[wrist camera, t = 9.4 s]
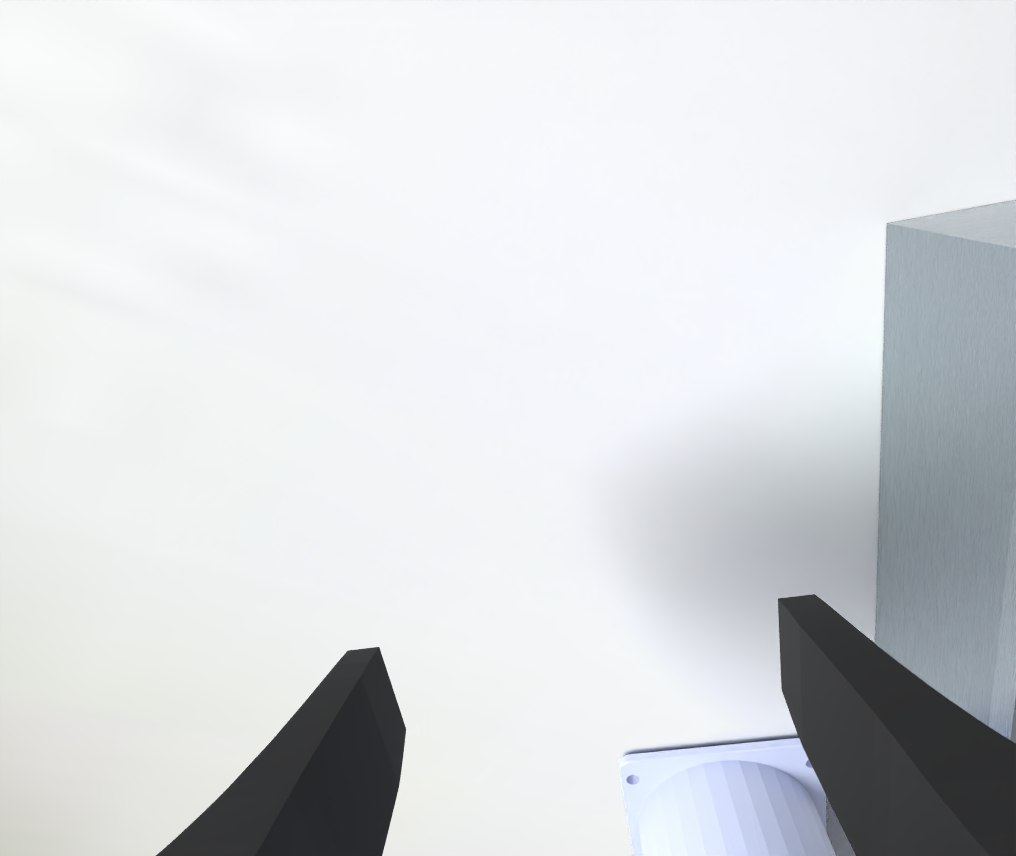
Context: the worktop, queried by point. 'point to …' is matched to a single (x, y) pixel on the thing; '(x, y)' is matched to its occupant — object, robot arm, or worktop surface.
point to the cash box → (951, 458)
